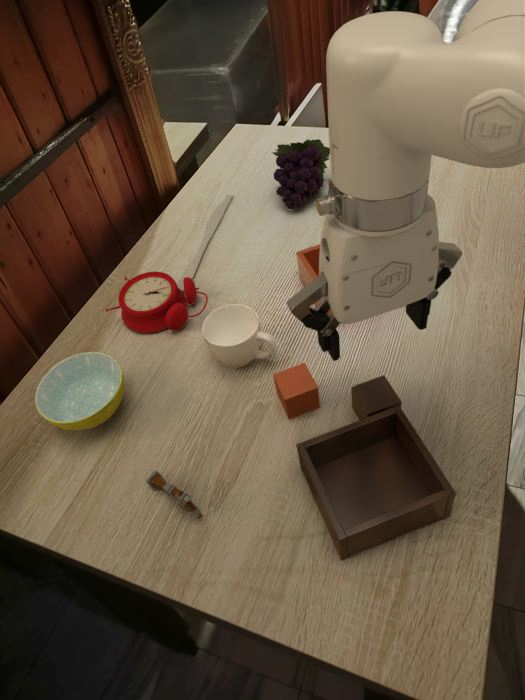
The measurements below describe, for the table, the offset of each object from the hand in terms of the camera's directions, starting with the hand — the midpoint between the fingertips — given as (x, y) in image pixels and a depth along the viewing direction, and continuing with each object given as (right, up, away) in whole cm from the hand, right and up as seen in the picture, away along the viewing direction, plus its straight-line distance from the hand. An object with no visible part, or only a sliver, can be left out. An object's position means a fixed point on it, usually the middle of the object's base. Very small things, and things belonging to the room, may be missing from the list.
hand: (373, 335), depth 56 cm
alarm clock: (-27, +5, +29) cm, 40 cm away
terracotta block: (-7, -8, +14) cm, 18 cm away
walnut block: (+2, -10, +11) cm, 15 cm away
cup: (-14, -3, +20) cm, 25 cm away
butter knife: (-22, +18, +40) cm, 49 cm away
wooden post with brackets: (-22, -19, +8) cm, 30 cm away
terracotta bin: (+2, +8, +26) cm, 27 cm away
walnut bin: (+1, -17, +4) cm, 18 cm away
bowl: (-34, -10, +18) cm, 40 cm away
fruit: (-4, +28, +45) cm, 53 cm away
